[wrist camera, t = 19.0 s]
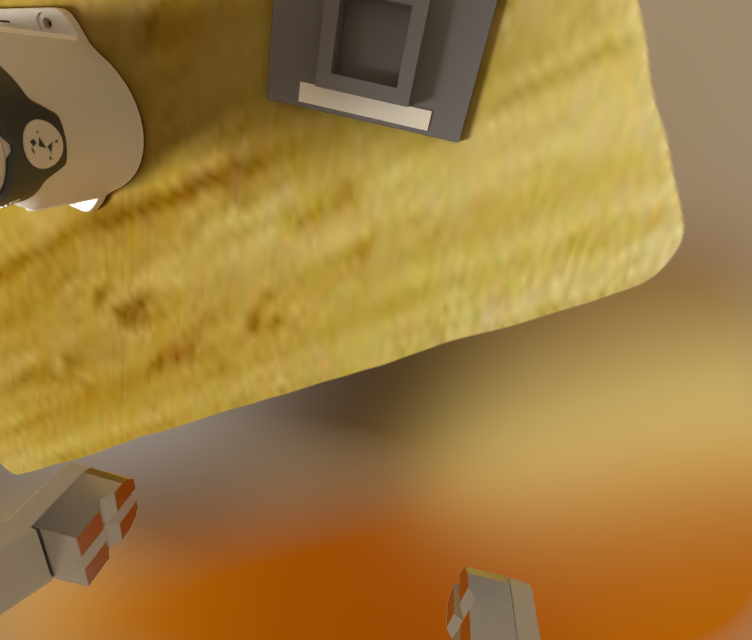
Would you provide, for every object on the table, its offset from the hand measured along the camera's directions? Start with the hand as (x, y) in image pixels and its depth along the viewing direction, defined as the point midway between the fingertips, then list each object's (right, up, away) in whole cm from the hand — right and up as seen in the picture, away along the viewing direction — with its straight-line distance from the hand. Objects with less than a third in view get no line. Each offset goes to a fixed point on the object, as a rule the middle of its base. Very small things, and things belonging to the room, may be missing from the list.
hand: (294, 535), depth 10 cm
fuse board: (+2, +29, +27) cm, 39 cm away
